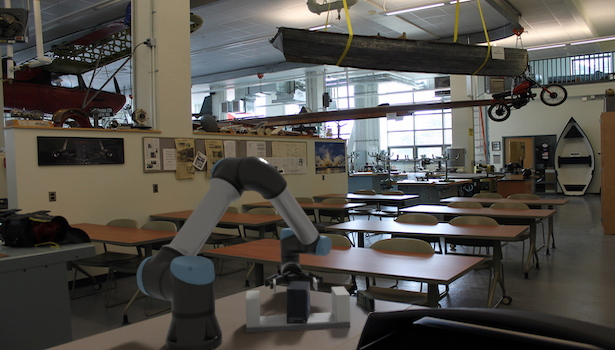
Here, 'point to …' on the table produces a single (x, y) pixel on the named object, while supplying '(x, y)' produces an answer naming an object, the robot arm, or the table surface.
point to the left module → (253, 308)
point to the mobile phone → (365, 300)
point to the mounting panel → (281, 324)
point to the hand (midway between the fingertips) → (295, 287)
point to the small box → (298, 302)
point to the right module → (340, 304)
